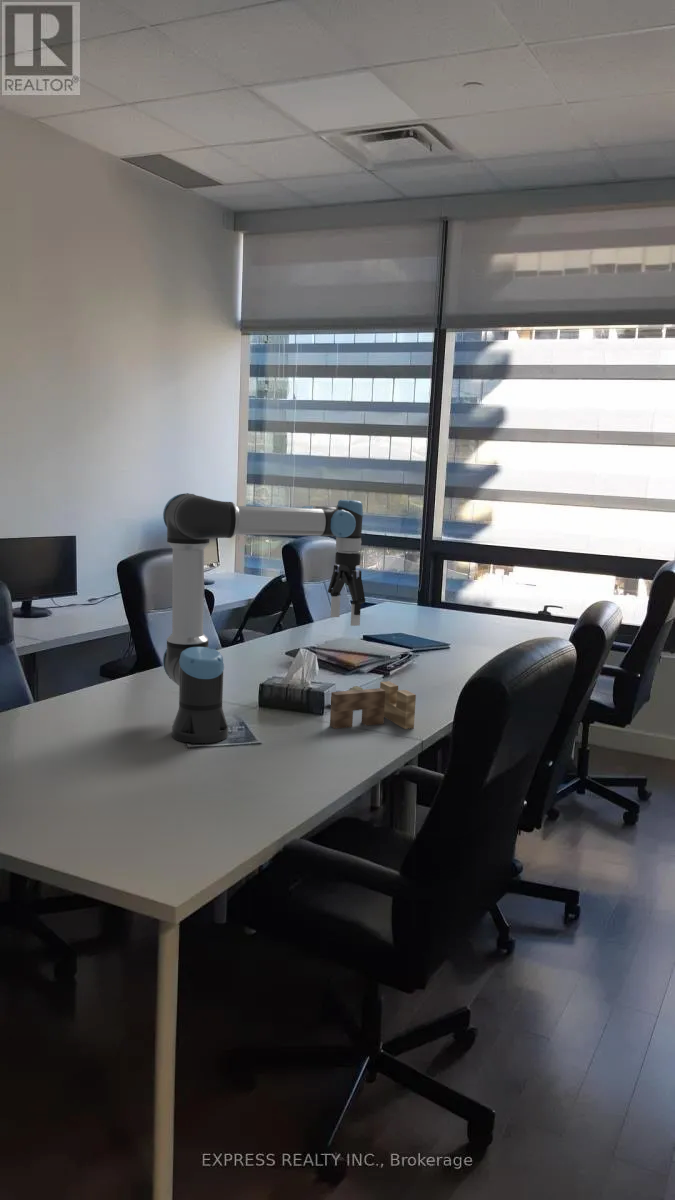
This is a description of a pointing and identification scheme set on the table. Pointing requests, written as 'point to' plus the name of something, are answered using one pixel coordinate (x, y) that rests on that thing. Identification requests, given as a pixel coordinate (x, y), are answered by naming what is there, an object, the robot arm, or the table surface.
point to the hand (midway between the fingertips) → (344, 621)
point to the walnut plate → (357, 707)
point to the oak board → (399, 705)
